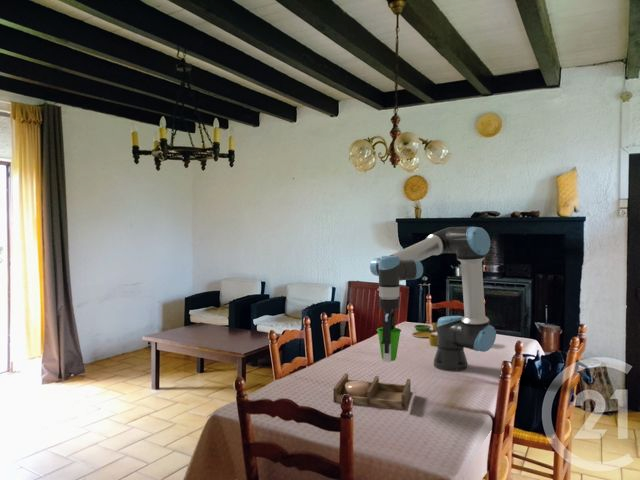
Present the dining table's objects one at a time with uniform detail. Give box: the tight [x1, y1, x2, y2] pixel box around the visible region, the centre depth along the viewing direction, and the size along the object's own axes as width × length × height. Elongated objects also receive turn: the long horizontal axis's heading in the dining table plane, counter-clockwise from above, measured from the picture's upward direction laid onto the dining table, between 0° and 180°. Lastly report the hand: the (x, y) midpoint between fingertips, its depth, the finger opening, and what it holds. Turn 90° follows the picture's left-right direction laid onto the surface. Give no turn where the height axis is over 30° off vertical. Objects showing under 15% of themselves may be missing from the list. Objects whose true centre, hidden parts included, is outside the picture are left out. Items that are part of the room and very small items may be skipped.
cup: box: [376, 326, 402, 362], centre depth 174 cm, size 9×9×11 cm
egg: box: [345, 380, 369, 397], centre depth 178 cm, size 9×9×4 cm
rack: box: [332, 373, 411, 411], centre depth 177 cm, size 26×18×6 cm
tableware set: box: [412, 322, 438, 347], centre depth 271 cm, size 41×28×6 cm
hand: (389, 357), depth 174 cm, fingers closed on cup, 9 cm apart
